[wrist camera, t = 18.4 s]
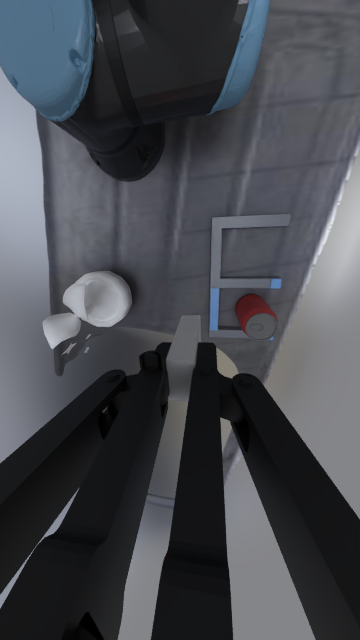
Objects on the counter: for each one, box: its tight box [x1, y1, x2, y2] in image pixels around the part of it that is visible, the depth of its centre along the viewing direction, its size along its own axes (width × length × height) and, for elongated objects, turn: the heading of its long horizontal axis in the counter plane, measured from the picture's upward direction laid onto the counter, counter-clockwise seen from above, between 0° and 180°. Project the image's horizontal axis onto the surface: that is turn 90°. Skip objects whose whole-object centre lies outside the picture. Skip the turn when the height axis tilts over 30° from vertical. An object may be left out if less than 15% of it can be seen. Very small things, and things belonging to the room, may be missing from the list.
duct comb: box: [209, 214, 291, 340], centre depth 45 cm, size 26×14×2 cm, turn 2°
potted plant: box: [42, 271, 132, 354], centre depth 39 cm, size 13×12×25 cm
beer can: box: [236, 294, 278, 342], centre depth 42 cm, size 7×7×12 cm
